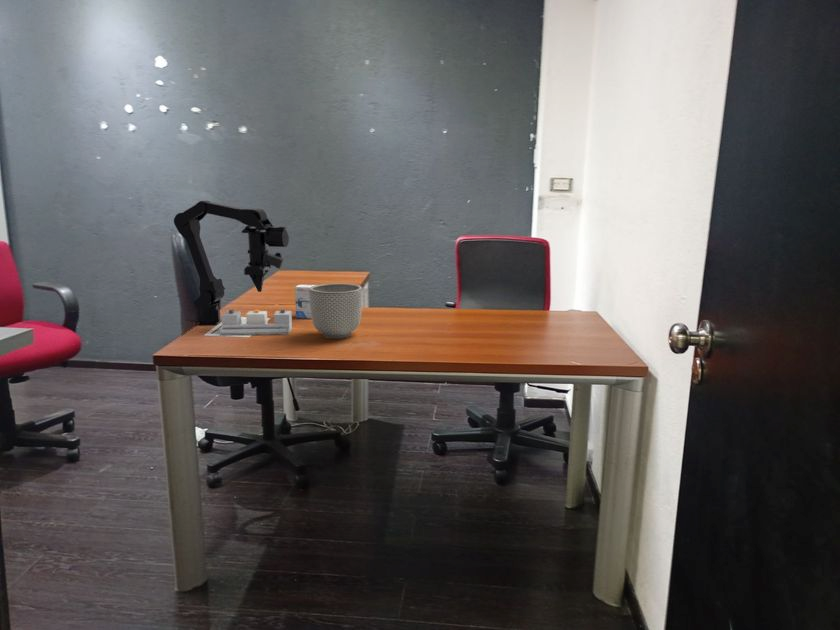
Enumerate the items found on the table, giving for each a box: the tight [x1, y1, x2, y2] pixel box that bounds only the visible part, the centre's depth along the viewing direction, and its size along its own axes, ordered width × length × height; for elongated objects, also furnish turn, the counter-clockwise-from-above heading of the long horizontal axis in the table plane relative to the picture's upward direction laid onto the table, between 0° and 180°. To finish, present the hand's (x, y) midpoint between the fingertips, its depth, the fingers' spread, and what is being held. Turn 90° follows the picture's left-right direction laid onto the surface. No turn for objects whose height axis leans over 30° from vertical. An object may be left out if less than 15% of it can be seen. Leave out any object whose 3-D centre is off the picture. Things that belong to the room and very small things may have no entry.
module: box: [245, 309, 269, 324], centre depth 209 cm, size 6×5×7 cm
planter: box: [309, 282, 364, 340], centre depth 201 cm, size 17×17×16 cm
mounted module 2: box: [273, 308, 293, 332], centre depth 209 cm, size 5×6×7 cm
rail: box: [219, 323, 291, 336], centre depth 204 cm, size 22×3×3 cm, turn 94°
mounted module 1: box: [220, 308, 242, 325], centre depth 208 cm, size 5×6×7 cm
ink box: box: [294, 284, 316, 319], centre depth 228 cm, size 9×5×12 cm, turn 84°
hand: (259, 291), depth 213 cm, fingers closed
